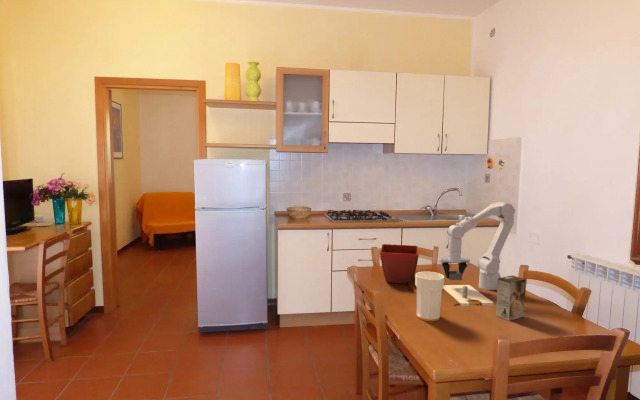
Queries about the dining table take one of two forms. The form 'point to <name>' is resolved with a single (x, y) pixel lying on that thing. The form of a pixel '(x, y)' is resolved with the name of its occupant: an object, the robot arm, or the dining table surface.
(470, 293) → the shelf board
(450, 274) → the grey square frame
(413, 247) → the plant pot
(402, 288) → the dining table surface
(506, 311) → the coffee box
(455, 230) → the robot arm
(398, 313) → the dining table surface
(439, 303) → the cup
